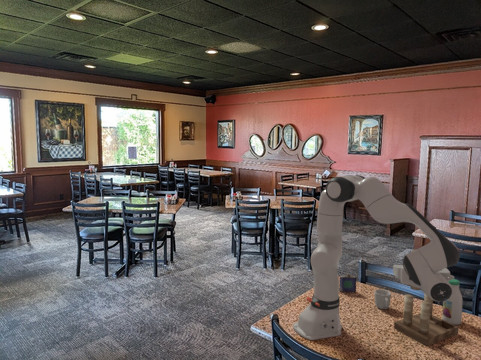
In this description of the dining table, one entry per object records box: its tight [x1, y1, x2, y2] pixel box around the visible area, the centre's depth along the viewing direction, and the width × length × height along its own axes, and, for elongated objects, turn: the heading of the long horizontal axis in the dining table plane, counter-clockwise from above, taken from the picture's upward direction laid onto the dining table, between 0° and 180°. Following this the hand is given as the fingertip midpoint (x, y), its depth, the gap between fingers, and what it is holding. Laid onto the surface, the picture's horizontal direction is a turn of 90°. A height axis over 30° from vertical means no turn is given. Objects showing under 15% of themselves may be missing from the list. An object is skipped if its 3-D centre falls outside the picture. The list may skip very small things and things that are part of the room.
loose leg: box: [410, 249, 421, 291], centre depth 144 cm, size 4×4×16 cm
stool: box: [393, 293, 460, 347], centre depth 154 cm, size 22×16×16 cm
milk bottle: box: [441, 278, 463, 326], centre depth 163 cm, size 8×8×20 cm
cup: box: [374, 288, 392, 310], centre depth 176 cm, size 11×8×8 cm
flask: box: [339, 272, 357, 293], centre depth 197 cm, size 9×3×11 cm, turn 84°
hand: (415, 266), depth 145 cm, fingers closed on loose leg, 4 cm apart
